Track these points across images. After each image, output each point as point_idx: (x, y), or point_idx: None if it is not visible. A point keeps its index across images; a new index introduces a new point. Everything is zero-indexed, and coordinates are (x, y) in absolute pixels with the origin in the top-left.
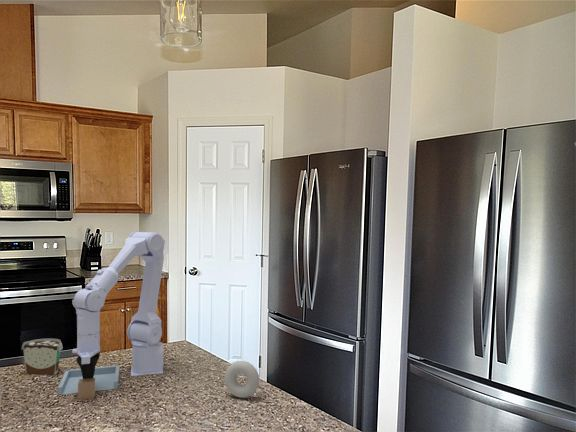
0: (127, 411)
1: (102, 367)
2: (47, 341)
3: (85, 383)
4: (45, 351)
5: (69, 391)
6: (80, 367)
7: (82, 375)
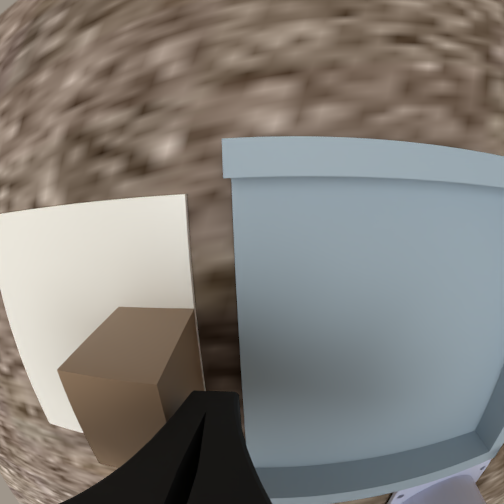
0: (42, 455)
1: None
2: None
3: (80, 413)
4: None
5: (283, 227)
6: (77, 497)
7: (157, 433)
